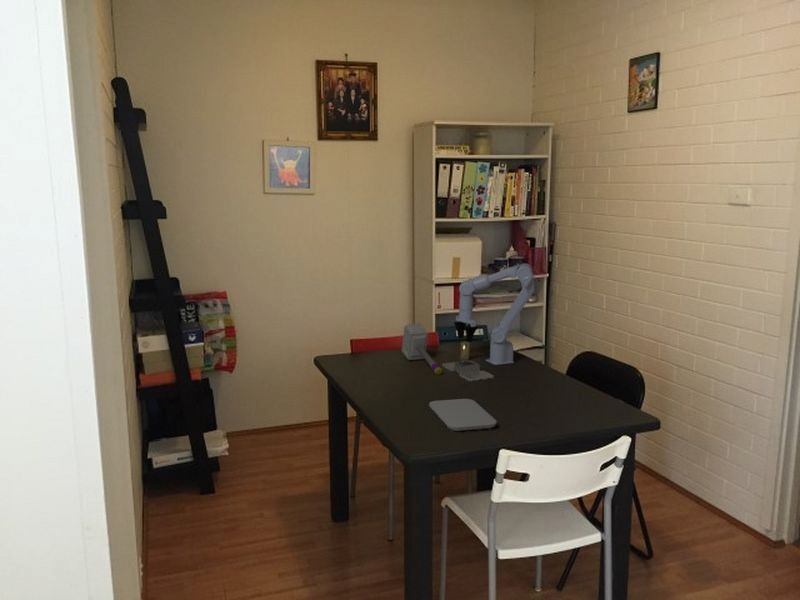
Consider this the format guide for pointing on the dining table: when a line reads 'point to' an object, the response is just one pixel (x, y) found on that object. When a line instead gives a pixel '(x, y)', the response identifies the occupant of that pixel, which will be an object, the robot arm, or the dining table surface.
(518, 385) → the dining table surface
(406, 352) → the hammer
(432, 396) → the dining table surface
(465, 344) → the hinge pin
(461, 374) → the hinge base
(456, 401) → the tablet
